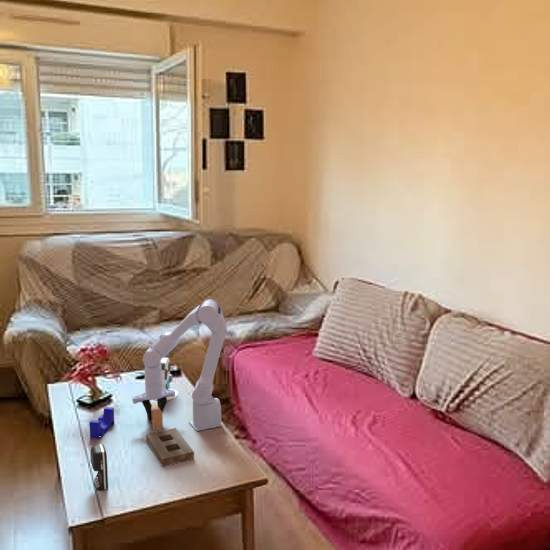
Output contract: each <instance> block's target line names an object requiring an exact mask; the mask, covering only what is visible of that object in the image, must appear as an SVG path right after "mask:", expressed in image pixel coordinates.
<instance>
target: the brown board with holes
mask: <svg viewBox="0 0 550 550" xmlns="http://www.w3.org/2000/svg"><path fill="white" fill-rule="evenodd" d="M145 437H146V442H148V443H147V444H148V445H150V446H149V447H150V449H151V448H152V449H151V451H152V453H153V454H154V453H155V454H154V456H155V457H156V456H157V457H156V458H157V460H158V461H160V462H159V464H160V465H161V464H162V465H161V466H162V467H167V466H171V465H175V464H174V463H176V464H179V462H180V463H183V462H188V461H187V460H189V461H192V460H191V459H193V460H195V451H194V450H193V448H192V447H191V446H190V445H189V443H188V442H187V441H186V440H185V438H184V437H183V436H182V435H181V433H180V432H179V430H178V429H177V428H176V427H173V428H170V429H163V430H159V431H158V430H157V431H153V432H149V433H146V435H145ZM170 464H171V465H170ZM166 465H167V466H166Z"/></svg>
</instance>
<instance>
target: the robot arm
mask: <svg viewBox="0 0 550 550" xmlns="http://www.w3.org/2000/svg"><path fill="white" fill-rule="evenodd" d="M201 324H203V325H204V326H206V327H207V328H208V330H210V332H211V336H210V338H209V339H210V340H209V343H208V347H207V351H206V355H205V358H204V361H203V364H202V365H203V366H202V368H201V369H202V370H201V372H200V376H199V379H198V380H197V381H196V382H195V386H194V390H193V391H192V394H191V396H192V397H191V398H192V419H191V420H188V423H189V424H190V425H191V426H192V428H193V429H194V430H195V431H196V432H199V431H204V430H208V429H214V428H218V427H222V426H223V424H222V405H221V402H220V399H219V398H217V397H214V396H213V395H212V393H213V390H214V386H215V385H214V383H213V382H214V377H215V373H216V370H217V367H218V363H219V359H220V355H221V351H222V348H223V345H224V342H225V338H226V333H227V330H228V326H227V323H226V320H225V316H224V314H223V309H222V307H221V306H220V304H219V303H218V302H217V300H215V299H212V298H211V299H210V298H209V299H205V300H204V301H202V303H201V304H199V305H198V306H196V307H195V308H193V310H191V311H190V312H189V313H188V314H187V315H186V316H185V318H184V319H183V320H181V322H180V323H179V324H177V326H176V327H175V328H174V329H173V330H172V331H170V332H169V331H167V332H164V333H161V334H160V335H159V336H158V337H159V338H158V340H156V341H155V342H154V343H152V344H150V345H149V348H148V349H147V350H146V351H145V353H144V355H143V356H142V363H143V364H144V383H145V384H144V386H145V387H144V388H145V389H144V390H145V392H144V393H141V394H138V395H134V396H132V403H133V404H134V405H135V404H138V403H142V405H143V407H144V409H145V411H146V417H147V416H148V420H149V421H151V420H152V417H151V407H152V405H151V403H152V402H151V401H156V404H157V406H158V407H159V408H160V410H161V411H162V414H163V413H164V410H165V407H166V405H167V403H168V400H167V399H166V397H171V396H172V397H175V391H174V390H175V389H174V390H162V368H161V359H162V358H163V357H165V356H166V355H169V353H171V352H172V350H174V349H175V347H176V346H178V344H179V339H180V337H182V336H183V335H184V334H186V332H188V330H189V329H191V328H192V327H193V326H195V325H196V326H197V325H201ZM155 399H157V400H155ZM148 420H147V421H148ZM151 422H152V421H151Z"/></svg>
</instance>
